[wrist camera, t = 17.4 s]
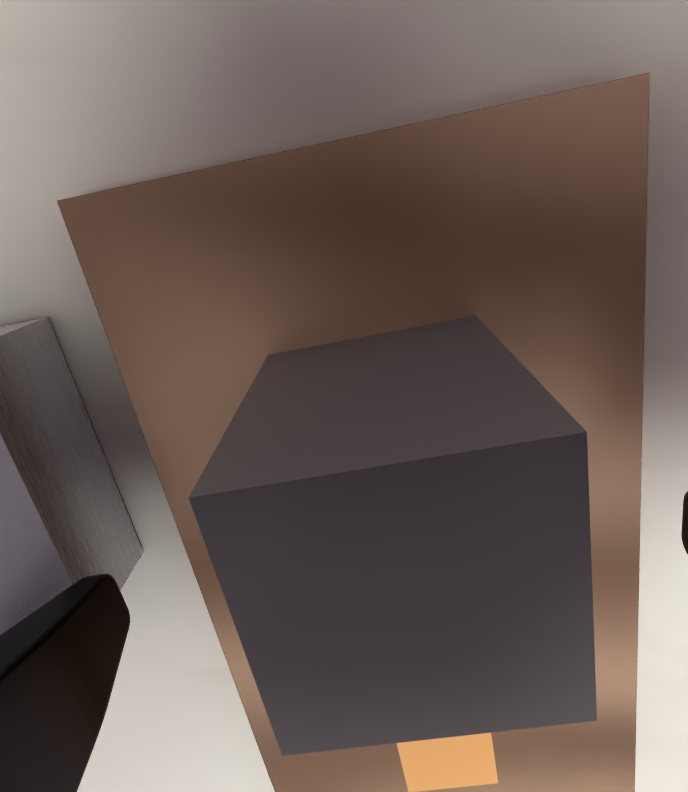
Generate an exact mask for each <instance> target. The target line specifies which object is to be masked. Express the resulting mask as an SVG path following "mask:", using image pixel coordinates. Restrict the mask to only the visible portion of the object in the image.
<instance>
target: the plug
mask: <svg viewBox="0 0 688 792" xmlns="http://www.w3.org/2000/svg"><path fill="white" fill-rule="evenodd" d="M188 498H189V501H190V504H191V506H192V509H193V512H194V515H195V517H196V520H197V523H198V526H199V528H200V531H201V534H202V537H203V539H204V542H205V545H206V548H207V550H208V553H209V556H210V559H211V561H212V564H213V567H214V570H215V572H216V575H217V578H218V581H219V583H220V586H221V589H222V592H223V594H224V597H225V600H226V603H227V605H228V608H229V611H230V614H231V616H232V619H233V622H234V624H235V627H236V630H237V633H238V635H239V638H240V641H241V644H242V646H243V649H244V652H245V655H246V657H247V660H248V663H249V666H250V668H251V671H252V674H253V677H254V679H255V682H256V685H257V688H258V690H259V693H260V696H261V699H262V701H263V704H264V707H265V710H266V712H267V715H268V718H269V721H270V723H271V726H272V729H273V732H274V734H275V737H276V740H277V743H278V745H279V748H280V751H281V754H282V756H286V755H295V754H304V753H313V752H322V751H331V750H340V749H349V748H358V747H367V746H376V745H384V744H393V743H397V747H398V751H399V755H400V760H401V764H402V768H403V772H404V776H405V780H406V784H407V789H408V792H419V791H428V790H438V789H448V788H458V787H467V786H477V785H487V784H497V783H498V777H497V770H496V763H495V756H494V749H493V742H492V736H491V733H492V732H501V731H510V730H518V729H527V728H536V727H545V726H554V725H563V724H572V723H581V722H590V721H597V704H596V675H595V647H594V618H593V590H592V561H591V532H590V504H589V475H588V447H587V431H586V430H585V429H584V428H583V427H582V426H581V425H580V424H579V423H578V422H577V421H576V420H575V419H574V418H573V417H572V416H571V415H570V414H569V413H568V412H567V410H566V409H565V408H564V407H563V406H562V405H561V404H560V403H559V402H558V401H557V400H556V399H555V398H554V397H553V396H552V395H551V394H550V393H549V392H548V391H547V390H546V389H545V387H544V386H543V385H542V384H541V383H540V382H539V381H538V380H537V379H536V378H535V377H534V376H533V375H532V374H531V373H530V372H529V371H528V370H527V369H526V368H525V367H524V366H523V364H522V363H521V362H520V361H519V360H518V359H517V358H516V357H515V356H514V355H513V354H512V353H511V352H510V351H509V350H508V349H507V348H506V347H505V346H504V345H503V344H502V343H501V341H500V340H499V339H498V338H497V337H496V336H495V335H494V334H493V333H492V332H491V331H490V330H489V329H488V328H487V327H486V326H485V325H484V324H483V323H482V322H481V321H480V320H479V318H478V317H477V316H470V317H465V318H460V319H455V320H449V321H444V322H439V323H433V324H428V325H423V326H418V327H412V328H407V329H402V330H397V331H391V332H386V333H381V334H376V335H370V336H365V337H360V338H355V339H349V340H344V341H339V342H334V343H328V344H323V345H318V346H313V347H307V348H302V349H297V350H292V351H286V352H281V353H276V354H271V355H268V356H267V357H266V359H265V361H264V363H263V365H262V366H261V368H260V370H259V372H258V374H257V375H256V377H255V379H254V381H253V382H252V384H251V386H250V388H249V390H248V391H247V393H246V395H245V397H244V399H243V400H242V402H241V404H240V406H239V408H238V409H237V411H236V413H235V415H234V417H233V418H232V420H231V422H230V424H229V426H228V427H227V429H226V431H225V433H224V435H223V436H222V438H221V440H220V442H219V444H218V445H217V447H216V449H215V451H214V453H213V454H212V456H211V458H210V460H209V461H208V463H207V465H206V467H205V469H204V470H203V472H202V474H201V476H200V478H199V479H198V481H197V483H196V485H195V487H194V488H193V490H192V492H191V494H190V496H189V497H188Z"/></svg>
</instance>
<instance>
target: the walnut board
mask: <svg viewBox="0 0 688 792" xmlns="http://www.w3.org/2000/svg"><path fill="white" fill-rule="evenodd" d="M648 116H649V73H645V74H641V75H636V76H632V77H627V78H622V79H618V80H613V81H608V82H604V83H599V84H595V85H590V86H585V87H581V88H576V89H571V90H567V91H562V92H558V93H553V94H548V95H544V96H539V97H534V98H530V99H525V100H521V101H516V102H511V103H507V104H502V105H497V106H493V107H488V108H484V109H479V110H474V111H470V112H465V113H460V114H456V115H451V116H447V117H442V118H437V119H433V120H428V121H424V122H419V123H414V124H410V125H405V126H400V127H396V128H391V129H387V130H382V131H377V132H373V133H368V134H363V135H359V136H354V137H350V138H345V139H340V140H336V141H331V142H326V143H322V144H317V145H313V146H308V147H303V148H299V149H294V150H289V151H285V152H280V153H276V154H271V155H266V156H262V157H257V158H252V159H248V160H243V161H239V162H234V163H229V164H225V165H220V166H216V167H211V168H206V169H202V170H197V171H192V172H188V173H183V174H179V175H174V176H169V177H165V178H160V179H155V180H151V181H146V182H142V183H137V184H132V185H128V186H123V187H118V188H114V189H109V190H105V191H100V192H95V193H91V194H86V195H81V196H77V197H72V198H68V199H63V200H58V201H57V202H58V205H59V208H60V210H61V213H62V216H63V219H64V221H65V224H66V227H67V229H68V232H69V235H70V238H71V240H72V243H73V246H74V248H75V251H76V254H77V256H78V259H79V262H80V265H81V267H82V270H83V273H84V275H85V278H86V281H87V284H88V286H89V289H90V292H91V294H92V297H93V300H94V303H95V305H96V308H97V311H98V313H99V316H100V319H101V322H102V324H103V327H104V330H105V332H106V335H107V338H108V341H109V343H110V346H111V349H112V351H113V354H114V357H115V359H116V362H117V365H118V368H119V370H120V373H121V376H122V378H123V381H124V384H125V387H126V389H127V392H128V395H129V397H130V400H131V403H132V406H133V408H134V411H135V414H136V416H137V419H138V422H139V425H140V427H141V430H142V433H143V435H144V438H145V441H146V444H147V446H148V449H149V452H150V454H151V457H152V460H153V462H154V465H155V468H156V471H157V473H158V476H159V479H160V481H161V484H162V487H163V490H164V492H165V495H166V498H167V500H168V503H169V506H170V509H171V511H172V514H173V517H174V519H175V522H176V525H177V528H178V530H179V533H180V536H181V538H182V541H183V544H184V547H185V549H186V552H187V555H188V557H189V560H190V563H191V565H192V568H193V571H194V574H195V576H196V579H197V582H198V584H199V587H200V590H201V593H202V595H203V598H204V601H205V603H206V606H207V609H208V612H209V614H210V617H211V620H212V622H213V625H214V628H215V631H216V633H217V636H218V639H219V641H220V644H221V647H222V650H223V652H224V655H225V658H226V660H227V663H228V666H229V668H230V671H231V674H232V677H233V679H234V682H235V685H236V687H237V690H238V693H239V696H240V698H241V701H242V704H243V706H244V709H245V712H246V715H247V717H248V720H249V723H250V725H251V728H252V731H253V734H254V736H255V739H256V742H257V744H258V747H259V750H260V753H261V755H262V758H263V761H264V763H265V766H266V769H267V771H268V774H269V777H270V780H271V782H272V785H273V788H274V790H275V792H408V789H407V784H406V780H405V776H404V772H403V768H402V764H401V760H400V755H399V751H398V747H397V743H393V744H384V745H376V746H367V747H358V748H349V749H340V750H331V751H322V752H313V753H304V754H295V755H286V756H282V754H281V751H280V748H279V745H278V743H277V740H276V737H275V734H274V732H273V729H272V726H271V723H270V721H269V718H268V715H267V712H266V710H265V707H264V704H263V701H262V699H261V696H260V693H259V690H258V688H257V685H256V682H255V679H254V677H253V674H252V671H251V668H250V666H249V663H248V660H247V657H246V655H245V652H244V649H243V646H242V644H241V641H240V638H239V635H238V633H237V630H236V627H235V624H234V622H233V619H232V616H231V614H230V611H229V608H228V605H227V603H226V600H225V597H224V594H223V592H222V589H221V586H220V583H219V581H218V578H217V575H216V572H215V570H214V567H213V564H212V561H211V559H210V556H209V553H208V550H207V548H206V545H205V542H204V539H203V537H202V534H201V531H200V528H199V526H198V523H197V520H196V517H195V515H194V512H193V509H192V506H191V504H190V501H189V498H188V497H189V496H190V494H191V492H192V490H193V488H194V487H195V485H196V483H197V481H198V479H199V478H200V476H201V474H202V472H203V470H204V469H205V467H206V465H207V463H208V461H209V460H210V458H211V456H212V454H213V453H214V451H215V449H216V447H217V445H218V444H219V442H220V440H221V438H222V436H223V435H224V433H225V431H226V429H227V427H228V426H229V424H230V422H231V420H232V418H233V417H234V415H235V413H236V411H237V409H238V408H239V406H240V404H241V402H242V400H243V399H244V397H245V395H246V393H247V391H248V390H249V388H250V386H251V384H252V382H253V381H254V379H255V377H256V375H257V374H258V372H259V370H260V368H261V366H262V365H263V363H264V361H265V359H266V357H267V356H268V355H271V354H276V353H281V352H286V351H292V350H297V349H302V348H307V347H313V346H318V345H323V344H328V343H334V342H339V341H344V340H349V339H355V338H360V337H365V336H370V335H376V334H381V333H386V332H391V331H397V330H402V329H407V328H412V327H418V326H423V325H428V324H433V323H439V322H444V321H449V320H455V319H460V318H465V317H470V316H477V317H478V318H479V320H480V321H481V322H482V323H483V324H484V325H485V326H486V327H487V328H488V329H489V330H490V331H491V332H492V333H493V334H494V335H495V336H496V337H497V338H498V339H499V340H500V341H501V343H502V344H503V345H504V346H505V347H506V348H507V349H508V350H509V351H510V352H511V353H512V354H513V355H514V356H515V357H516V358H517V359H518V360H519V361H520V362H521V363H522V364H523V366H524V367H525V368H526V369H527V370H528V371H529V372H530V373H531V374H532V375H533V376H534V377H535V378H536V379H537V380H538V381H539V382H540V383H541V384H542V385H543V386H544V387H545V389H546V390H547V391H548V392H549V393H550V394H551V395H552V396H553V397H554V398H555V399H556V400H557V401H558V402H559V403H560V404H561V405H562V406H563V407H564V408H565V409H566V410H567V412H568V413H569V414H570V415H571V416H572V417H573V418H574V419H575V420H576V421H577V422H578V423H579V424H580V425H581V426H582V427H583V428H584V429H585V430H586V431H587V447H588V475H589V504H590V532H591V561H592V590H593V618H594V647H595V675H596V704H597V721H590V722H581V723H572V724H563V725H554V726H545V727H536V728H527V729H518V730H510V731H501V732H492V733H491V736H492V742H493V749H494V756H495V763H496V770H497V777H498V783H497V784H487V785H477V786H467V787H458V788H448V789H438V790H428V791H419V792H635V747H636V698H637V650H638V601H639V553H640V504H641V456H642V407H643V358H644V310H645V261H646V213H647V164H648Z"/></svg>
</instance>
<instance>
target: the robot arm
mask: <svg viewBox="0 0 688 792" xmlns="http://www.w3.org/2000/svg"><path fill="white" fill-rule="evenodd" d="M682 542H683V545H684V548H685V550H686V552H687V554H688V491H687V492H686V494H685V496H684V501H683V519H682ZM129 625H130V615H129V610H128V608H127V605H126V603H125V601H124V599H123V596H122V594H121V592H120V589H119V587H118V585H117V583H116V580H115V579H114V577H113V576H112V575H110V574H107V573H104V574H97V575H90V576H86V577H83V578H81V579H80V580H78V581H77V582H75V583H74V584H73V585H71V586H70V587H68V588H67V589H65V590H64V591H63V592H61V593H60V594H58V595H57V596H55V597H54V598H53V599H51V600H50V601H48V602H47V603H45V604H44V605H43V606H41V607H40V608H38V609H37V610H35V611H34V612H32V613H31V614H30V615H28V616H27V617H25V618H24V619H22V620H21V621H20V622H18V623H17V624H15V625H14V626H12V627H11V628H10V629H8V630H7V631H5V632H4V633H2V634H1V635H0V792H77V790H78V787H79V785H80V782H81V779H82V777H83V774H84V771H85V769H86V766H87V763H88V761H89V758H90V755H91V753H92V750H93V748H94V745H95V742H96V740H97V737H98V734H99V731H100V728H101V725H102V722H103V719H104V716H105V713H106V709H107V706H108V703H109V699H110V695H111V692H112V688H113V684H114V681H115V677H116V673H117V670H118V666H119V663H120V659H121V655H122V652H123V648H124V644H125V641H126V637H127V633H128V630H129Z"/></svg>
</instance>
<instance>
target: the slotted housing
mask: <svg viewBox="0 0 688 792" xmlns="http://www.w3.org/2000/svg"><path fill="white" fill-rule="evenodd" d="M142 553H143V550H142V547H141V545H140V542H139V540H138V537H137V535H136V532H135V530H134V527H133V525H132V522H131V520H130V518H129V515H128V513H127V510H126V508H125V505H124V503H123V500H122V498H121V495H120V493H119V490H118V488H117V486H116V483H115V481H114V478H113V476H112V473H111V471H110V468H109V466H108V463H107V461H106V458H105V456H104V454H103V451H102V449H101V446H100V444H99V441H98V439H97V436H96V434H95V431H94V429H93V426H92V424H91V421H90V419H89V417H88V414H87V412H86V409H85V407H84V404H83V402H82V399H81V397H80V394H79V392H78V389H77V387H76V385H75V382H74V380H73V377H72V375H71V372H70V370H69V367H68V365H67V362H66V360H65V357H64V355H63V353H62V350H61V348H60V345H59V343H58V340H57V338H56V335H55V333H54V330H53V328H52V325H51V323H50V320H49V318H48V317H45V318H39V319H34V320H29V321H24V322H19V323H14V324H9V325H3V326H0V635H1V634H2V633H4V632H5V631H7V630H8V629H10V628H11V627H12V626H14V625H15V624H17V623H18V622H20V621H21V620H22V619H24V618H25V617H27V616H28V615H30V614H31V613H32V612H34V611H35V610H37V609H38V608H40V607H41V606H43V605H44V604H45V603H47V602H48V601H50V600H51V599H53V598H54V597H55V596H57V595H58V594H60V593H61V592H63V591H64V590H65V589H67V588H68V587H70V586H71V585H73V584H74V583H75V582H77V581H78V580H80V579H81V578H83V577H86V576H90V575H97V574H104V573H107V574H110V575H112V576H113V577H114V579H115V580H116V583H117V585H118V587H119V589H120V590H121V588H122V587H123V585H124V583H125V582H126V580H127V578H128V577H129V575H130V573H131V572H132V570H133V568H134V567H135V565H136V563H137V562H138V560H139V558H140V557H141V555H142Z"/></svg>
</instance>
